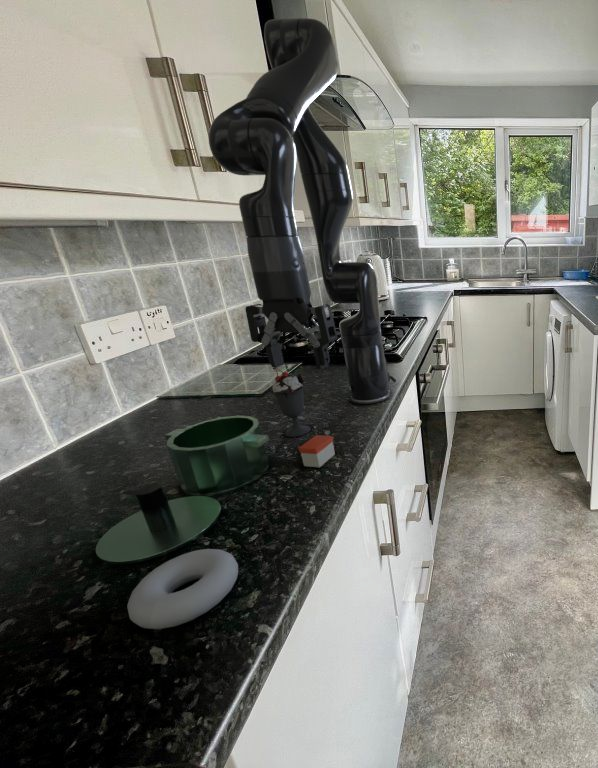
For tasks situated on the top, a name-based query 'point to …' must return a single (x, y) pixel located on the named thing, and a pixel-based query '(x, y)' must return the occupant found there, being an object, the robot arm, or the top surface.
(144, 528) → the lid
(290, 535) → the top surface
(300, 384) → the sundae
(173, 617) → the donut
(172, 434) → the pot
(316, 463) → the block
